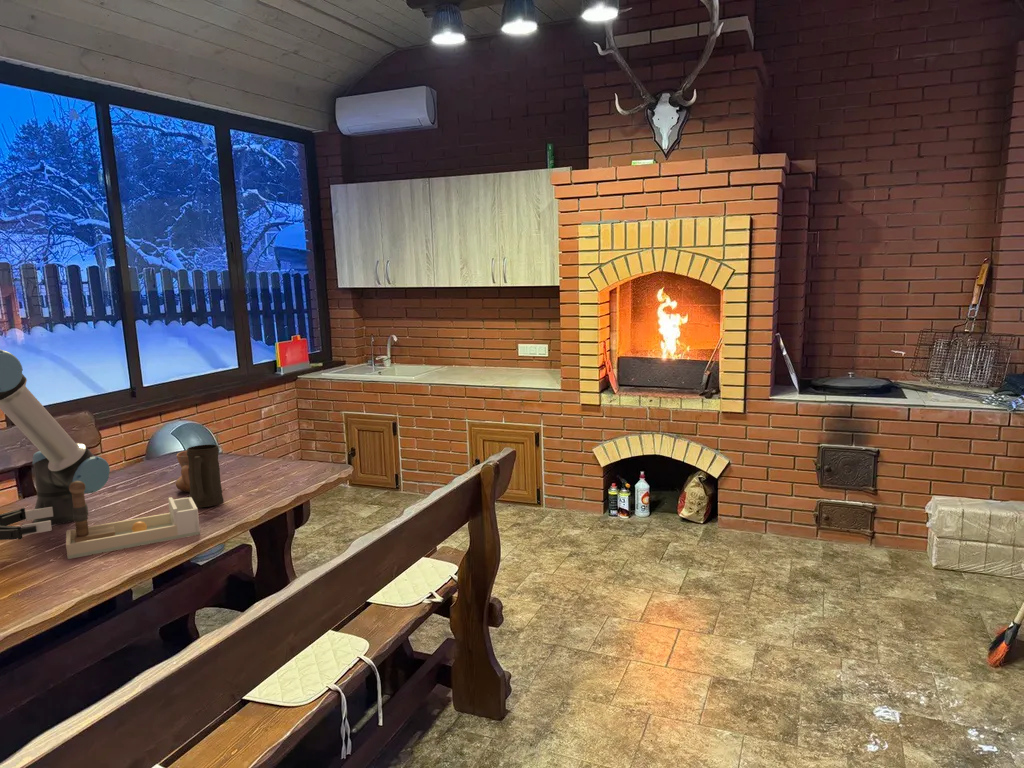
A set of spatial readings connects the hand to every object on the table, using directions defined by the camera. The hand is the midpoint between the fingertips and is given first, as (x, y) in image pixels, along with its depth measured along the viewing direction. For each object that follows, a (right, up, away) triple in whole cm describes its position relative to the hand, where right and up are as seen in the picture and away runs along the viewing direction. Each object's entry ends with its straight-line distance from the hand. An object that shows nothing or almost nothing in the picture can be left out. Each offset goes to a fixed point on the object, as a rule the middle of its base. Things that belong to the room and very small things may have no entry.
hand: (52, 518), depth 199 cm
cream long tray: (+17, -8, +12) cm, 22 cm away
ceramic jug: (+15, -1, +59) cm, 61 cm away
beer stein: (+25, -4, +42) cm, 49 cm away
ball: (+18, -5, +12) cm, 22 cm away
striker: (+8, -8, +7) cm, 13 cm away
